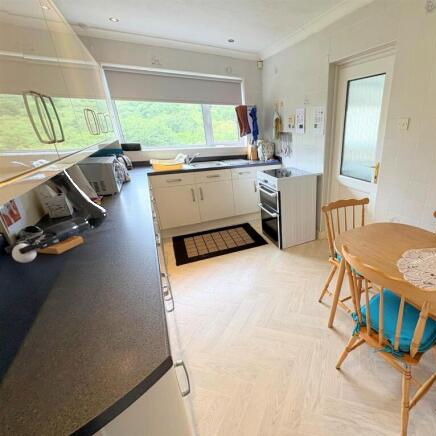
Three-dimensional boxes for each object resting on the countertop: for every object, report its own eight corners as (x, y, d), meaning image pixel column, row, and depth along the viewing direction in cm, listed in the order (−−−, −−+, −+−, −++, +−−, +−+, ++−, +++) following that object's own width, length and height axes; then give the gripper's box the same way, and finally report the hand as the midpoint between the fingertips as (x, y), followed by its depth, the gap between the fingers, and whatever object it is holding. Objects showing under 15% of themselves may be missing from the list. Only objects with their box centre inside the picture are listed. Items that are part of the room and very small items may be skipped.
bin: (37, 252, 110) (34, 246, 109) (64, 241, 121) (61, 235, 120) (58, 254, 109) (55, 248, 107) (84, 242, 120) (81, 236, 118)
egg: (30, 265, 87) (21, 247, 85) (12, 266, 87) (2, 248, 84) (43, 256, 93) (36, 240, 90) (26, 257, 92) (18, 241, 89)
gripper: (44, 223, 100) (-8, 240, 85) (73, 225, 98) (25, 243, 83) (51, 238, 103) (2, 258, 88) (79, 240, 101) (33, 261, 86)
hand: (13, 251), depth 85 cm, fingers closed on egg, 5 cm apart
